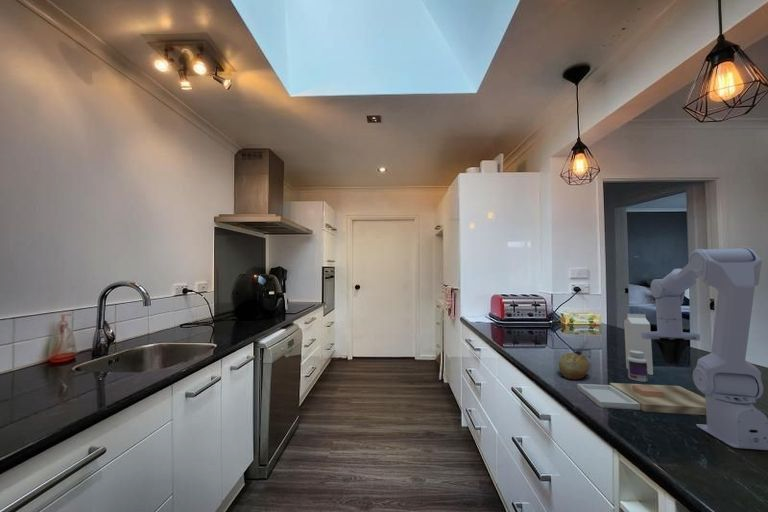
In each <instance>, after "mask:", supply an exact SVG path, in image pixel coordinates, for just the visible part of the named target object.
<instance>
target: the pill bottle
mask: <svg viewBox="0 0 768 512" xmlns="http://www.w3.org/2000/svg"><path fill="white" fill-rule="evenodd" d="M629 354H630V357H628V358H627V364H628V369H627V376H628V379H630V380H631V381H635V382H640V383H641V382H642V383H644V382H648V380H649V375H648V372H647V361H646V359H644V358H643V357H644V353H643V352H640V351H629Z"/></svg>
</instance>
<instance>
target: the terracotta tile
mask: <svg viewBox="0 0 768 512" xmlns="http://www.w3.org/2000/svg"><path fill="white" fill-rule="evenodd" d="M650 385H651V384H646V385H632V390H633V391H635V392H637V393H638V394H640V395H642V396H644V397H661V398H663V392H662V391H660V390H658V389H656V388H654V387H652V386H650Z"/></svg>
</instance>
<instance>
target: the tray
mask: <svg viewBox="0 0 768 512" xmlns="http://www.w3.org/2000/svg"><path fill="white" fill-rule="evenodd" d="M576 385H577V386H576V388H577V390H578V391H579V392H581V393H582V394H583V395H584V396H586V397H587V398H588V399H589V400H591V401H592V402H593V403H594V404H596V405H597V406H598V407H600V408H602V409H616V410H618V409H619V410H632V411H633V410H637V411H639V410H641V409H640V404H639V403H638V402H636V401H634V400H633V399H631V398H630V397H628V396H627V395H625V394H623V393H622V392H620V391H619V390H617V389H616V388H614V387H612V386H611V385H610V384H592V383H590V384H589V383H588V384H587V383H577V384H576Z"/></svg>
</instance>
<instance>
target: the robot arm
mask: <svg viewBox="0 0 768 512" xmlns="http://www.w3.org/2000/svg"><path fill="white" fill-rule="evenodd" d="M762 262H763V260H762V259H761V258H760V256H759V255H758V254H757V252H755V250H754V249H752V248H750V247H741V248H739V247H738V248H737V247H736V248H710V249H709V248H708V249H707V248H705V249H703V248H696V249H694V250H693V251H692V252H691V253H690V254H689V257H688V263H687V264H686V265H685V266H684V267H683V268H674V269H672V271H671V272H670V273H668V274H667V275H666V276H665V277H663V278H662V279H658V278H657V279H656V278H655V279H652V281H651V282H650V293H651V295H652V297H653V298H655V299H654V300H655V311H656V312H655V313H656V314H655V315H656V329H657V330H655V331H651V332H641V333H642V338H644V339H651V340H653V342H654V343H655V344H656V346H657V347H658V348H659V351H660V352H661V354H662V357H663V360H664V362H665V364H668V365H673V364H675V365H680V361H681V357H682V355H683V352H685V351H684V350H685V349H686V348H687V346H688V345H689V343H688V340H689V341H701V336H700V333H696V332H684V331H683V316H682V315H683V314H682V305H683V304H684V297H685V295H686V291H687V290H689V289H690V288H693V286H695V285H696V283H697V279H698V278H699V279H700V280H701V281H702V282H703V283H704V284H705V285H706V286H709V287H713V288H715V290H716V291H717V298H716V306H715V307H716V308H715V314H714V315H715V316H714V325H713V334H712V335H713V336H712V342H711V352H710V353H708V354H706V355H704V356H702V357H699V358H698V359H697V361H696V366H695V368H694V369H693V371H692V380H693V383H694V385H695V387H696V388H697V389H698V391H700V393H702V394H704V398H705V404H706V415H705V417H706V424H702V423H700V424H698V423H696V427H697V428H699V429H700V430H702V431H704V432H705V433H708V434H709V435H711V436H713V437H714V438H716V439H718V440H720V441H721V442H723V443H725V444H726V445H728V446H730V447H731V448H735V449H746V450H748V449H750V450H761V451H768V417H767V415H766V414H764V412H762V411H761V410H759V409H758V408H756V407H755V406H754V405H753V404H756V401H757V399H760V398H761V397H762V395H763V393H764V385H763V382H762V372H761V371H760V369H758V368H757V367H756V366H755V365H754V364H753V363H751V362H749V361H747V359H746V357H747V349H748V344H749V343H748V341H749V333H750V328H751V327H750V326H751V319H752V312H753V303H754V296H755V289H756V286H759V284H760V277H761V270H762V264H763V263H762Z"/></svg>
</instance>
